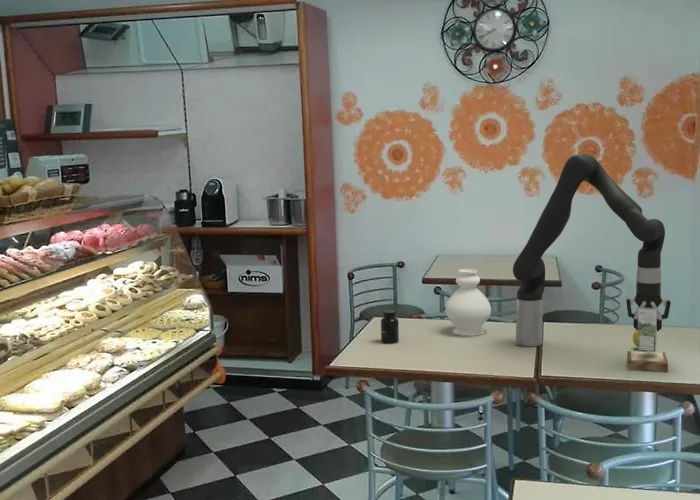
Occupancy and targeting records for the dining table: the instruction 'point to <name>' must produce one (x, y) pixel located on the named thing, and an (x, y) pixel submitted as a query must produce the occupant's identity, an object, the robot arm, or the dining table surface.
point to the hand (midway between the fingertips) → (647, 329)
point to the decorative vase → (468, 305)
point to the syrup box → (647, 329)
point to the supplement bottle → (389, 327)
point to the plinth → (647, 361)
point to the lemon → (635, 338)
